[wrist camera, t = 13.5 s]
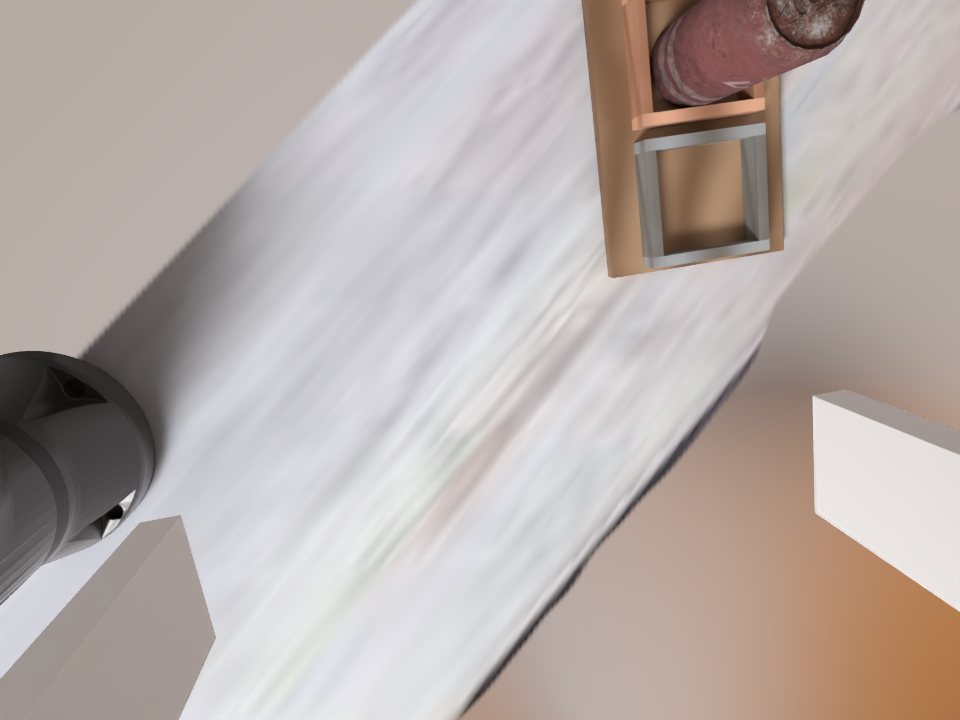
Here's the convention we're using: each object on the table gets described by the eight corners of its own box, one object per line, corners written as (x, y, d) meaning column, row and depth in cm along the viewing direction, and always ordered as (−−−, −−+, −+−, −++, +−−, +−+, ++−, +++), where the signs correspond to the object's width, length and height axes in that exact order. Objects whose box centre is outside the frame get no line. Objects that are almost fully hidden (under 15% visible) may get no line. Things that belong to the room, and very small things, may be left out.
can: (739, 30, 43) (893, -61, 30) (711, 120, 44) (848, 72, 31) (662, 3, 42) (787, -104, 29) (636, 96, 43) (744, 35, 30)
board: (608, 276, 47) (623, 280, 44) (581, -3, 43) (595, -21, 40) (774, 249, 48) (800, 250, 45) (765, -25, 44) (793, -44, 41)
